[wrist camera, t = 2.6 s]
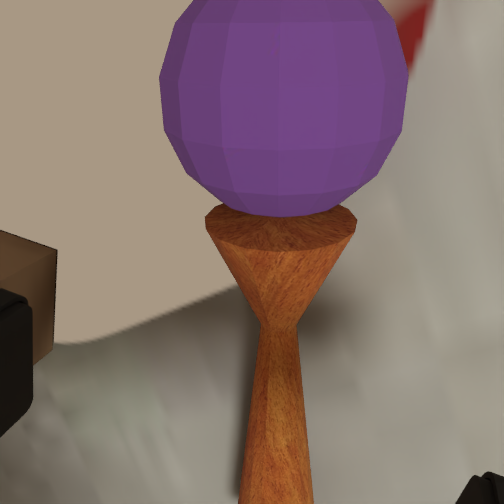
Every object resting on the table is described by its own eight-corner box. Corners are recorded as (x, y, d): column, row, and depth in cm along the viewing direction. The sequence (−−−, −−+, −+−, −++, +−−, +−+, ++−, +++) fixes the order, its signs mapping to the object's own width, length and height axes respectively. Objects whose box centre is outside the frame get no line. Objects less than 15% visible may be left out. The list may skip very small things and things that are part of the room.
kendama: (171, 566, 18) (83, -49, 9) (244, 452, 23) (232, -28, 14) (320, 650, 16) (390, -77, 7) (367, 502, 21) (445, -41, 12)
